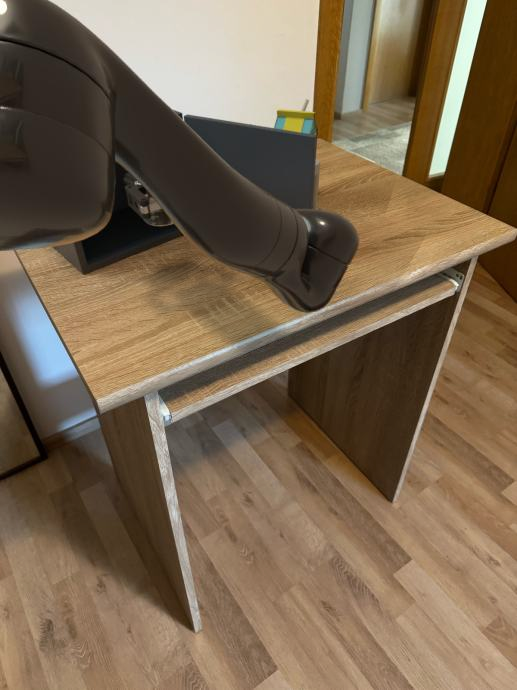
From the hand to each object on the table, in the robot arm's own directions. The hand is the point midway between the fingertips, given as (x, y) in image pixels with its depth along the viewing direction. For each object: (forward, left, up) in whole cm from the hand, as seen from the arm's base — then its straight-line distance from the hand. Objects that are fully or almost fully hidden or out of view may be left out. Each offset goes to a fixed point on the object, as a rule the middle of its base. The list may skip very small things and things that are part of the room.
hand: (148, 174), depth 70 cm
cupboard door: (+17, +6, -16) cm, 24 cm away
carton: (+28, +20, -16) cm, 38 cm away
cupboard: (-7, +14, -16) cm, 22 cm away
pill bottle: (+1, -2, -6) cm, 7 cm away
